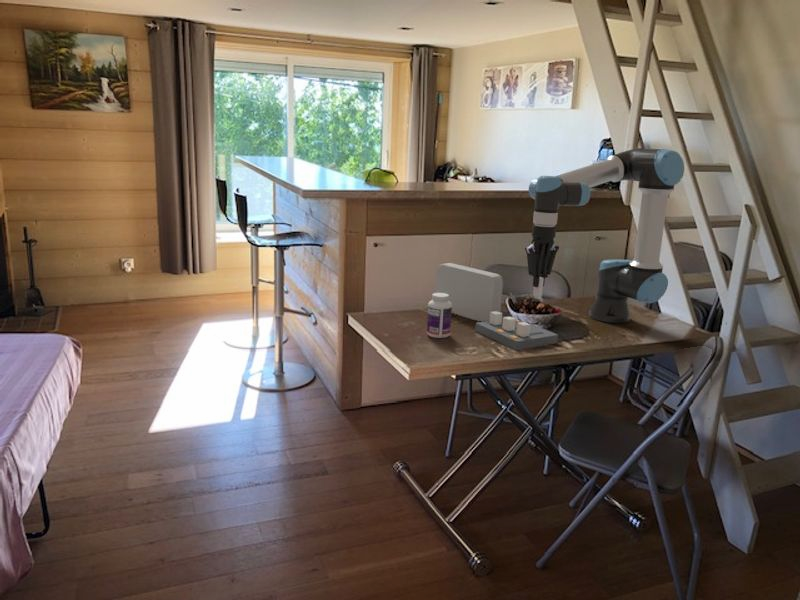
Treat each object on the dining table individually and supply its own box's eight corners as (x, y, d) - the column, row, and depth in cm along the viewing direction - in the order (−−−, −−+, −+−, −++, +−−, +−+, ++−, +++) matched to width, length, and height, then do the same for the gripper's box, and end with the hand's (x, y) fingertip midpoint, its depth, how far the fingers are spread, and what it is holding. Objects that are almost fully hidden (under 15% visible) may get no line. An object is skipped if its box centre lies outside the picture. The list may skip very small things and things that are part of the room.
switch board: (514, 325, 230) (515, 316, 229) (557, 343, 212) (558, 334, 211) (475, 330, 221) (475, 322, 220) (516, 350, 203) (517, 341, 202)
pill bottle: (447, 331, 219) (449, 291, 215) (452, 339, 211) (455, 297, 208) (424, 331, 218) (426, 291, 214) (428, 339, 210) (431, 297, 206)
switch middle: (508, 327, 216) (509, 316, 215) (514, 330, 214) (515, 318, 213) (502, 328, 215) (503, 317, 214) (507, 331, 212) (508, 319, 211)
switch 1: (496, 321, 222) (496, 311, 221) (501, 324, 219) (502, 313, 218) (489, 322, 220) (490, 311, 219) (494, 325, 218) (495, 314, 217)
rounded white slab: (503, 321, 234) (507, 274, 230) (490, 325, 229) (494, 277, 224) (446, 304, 254) (449, 261, 249) (433, 307, 249) (436, 263, 244)
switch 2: (523, 333, 210) (524, 321, 209) (529, 335, 208) (530, 324, 207) (516, 334, 209) (517, 322, 208) (522, 337, 206) (523, 325, 205)
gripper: (551, 222, 208) (544, 291, 214) (521, 224, 201) (514, 295, 207) (567, 225, 201) (559, 297, 208) (537, 227, 195) (530, 300, 201)
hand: (537, 296), depth 207 cm, fingers closed
